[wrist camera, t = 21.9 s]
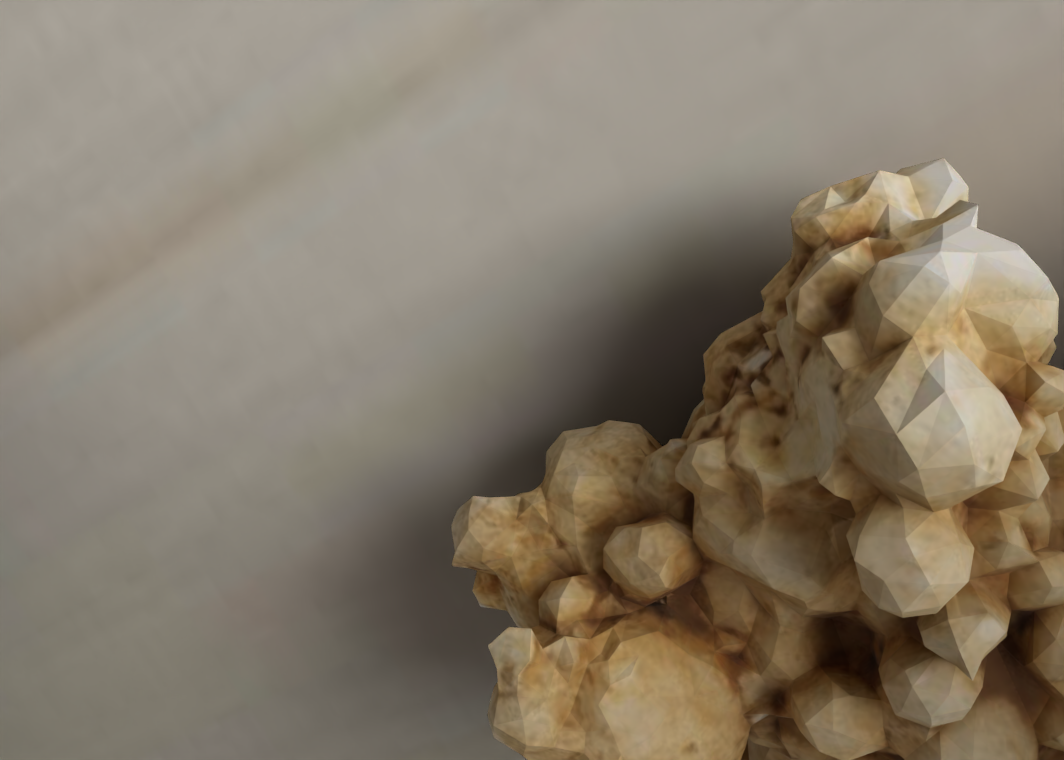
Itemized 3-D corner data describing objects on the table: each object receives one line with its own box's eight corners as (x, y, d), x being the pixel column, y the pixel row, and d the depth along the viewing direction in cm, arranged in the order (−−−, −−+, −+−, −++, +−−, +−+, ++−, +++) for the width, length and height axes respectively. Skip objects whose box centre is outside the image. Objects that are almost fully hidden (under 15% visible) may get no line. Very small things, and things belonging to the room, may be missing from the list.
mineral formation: (908, 52, 18) (1413, 596, 20) (460, 446, 25) (868, 813, 27) (926, 214, 11) (1676, 998, 14) (311, 686, 19) (865, 1144, 21)
